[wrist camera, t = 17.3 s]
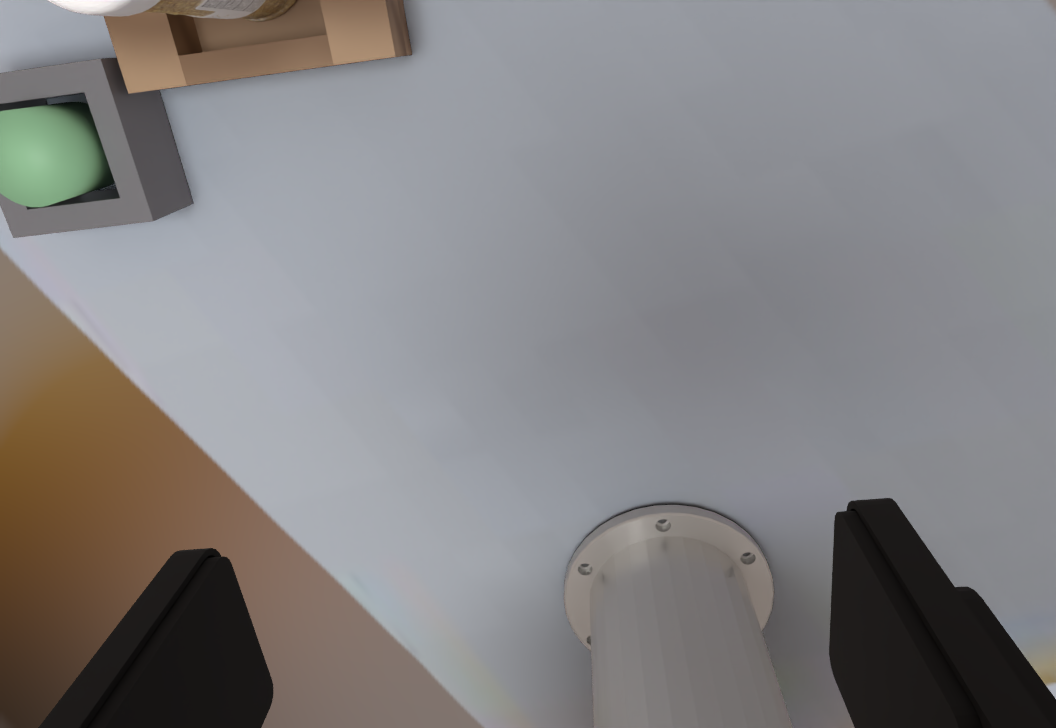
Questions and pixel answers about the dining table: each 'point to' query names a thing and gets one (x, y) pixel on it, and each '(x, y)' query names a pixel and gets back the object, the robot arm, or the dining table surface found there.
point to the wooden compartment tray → (254, 42)
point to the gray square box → (128, 141)
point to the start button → (50, 154)
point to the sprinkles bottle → (182, 8)
